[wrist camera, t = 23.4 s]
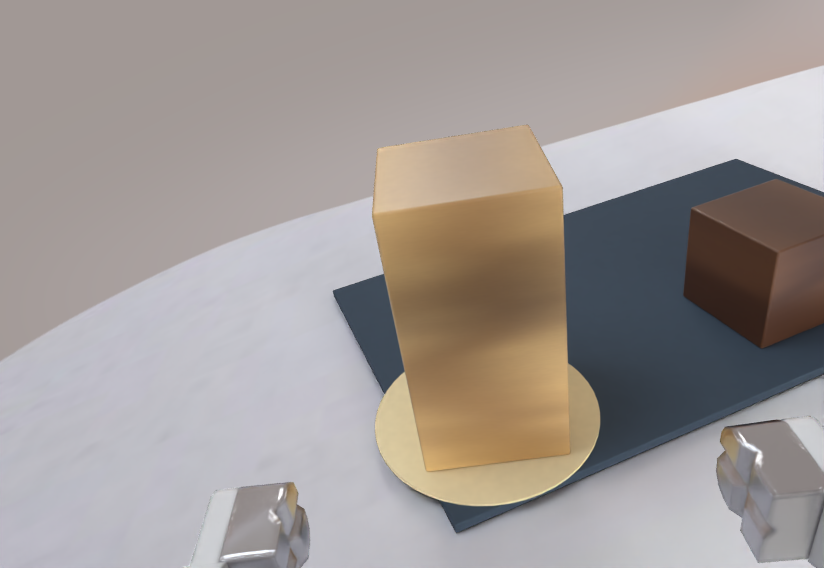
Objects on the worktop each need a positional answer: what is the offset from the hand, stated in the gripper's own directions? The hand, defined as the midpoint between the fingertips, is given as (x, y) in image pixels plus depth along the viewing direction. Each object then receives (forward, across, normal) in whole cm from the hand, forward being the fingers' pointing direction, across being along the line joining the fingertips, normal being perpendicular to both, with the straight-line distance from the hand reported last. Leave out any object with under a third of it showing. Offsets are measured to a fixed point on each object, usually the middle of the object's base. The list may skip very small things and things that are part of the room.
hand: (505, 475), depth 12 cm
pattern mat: (+16, -8, +8) cm, 20 cm away
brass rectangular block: (+9, 0, +7) cm, 12 cm away
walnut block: (+14, -12, +7) cm, 20 cm away
